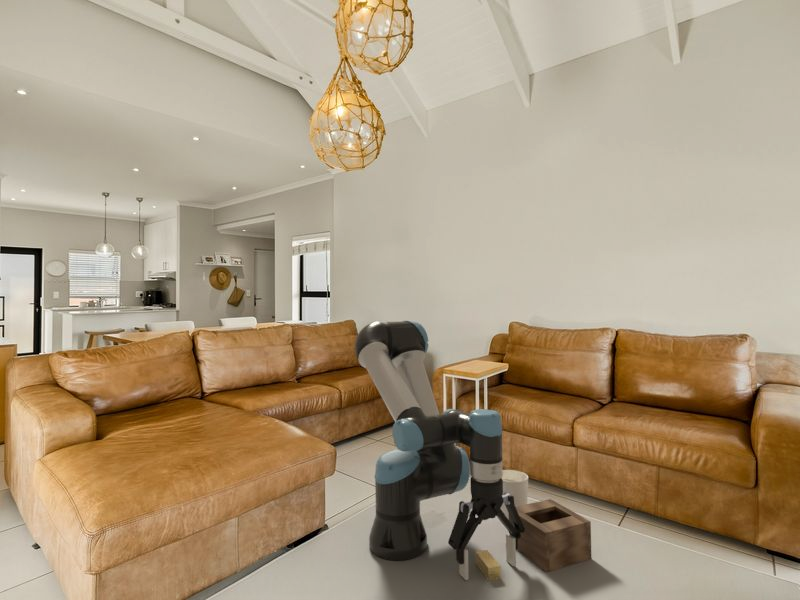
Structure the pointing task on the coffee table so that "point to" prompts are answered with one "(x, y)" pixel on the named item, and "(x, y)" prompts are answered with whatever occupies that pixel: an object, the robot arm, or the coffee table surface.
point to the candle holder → (515, 488)
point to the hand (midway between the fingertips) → (488, 569)
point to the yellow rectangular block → (488, 564)
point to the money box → (553, 535)
